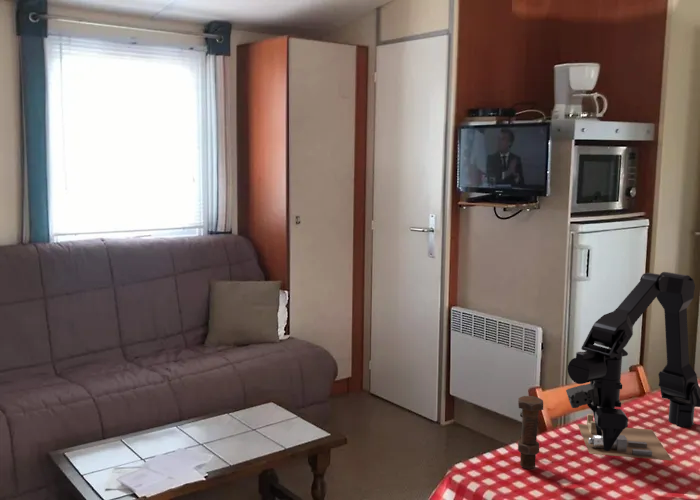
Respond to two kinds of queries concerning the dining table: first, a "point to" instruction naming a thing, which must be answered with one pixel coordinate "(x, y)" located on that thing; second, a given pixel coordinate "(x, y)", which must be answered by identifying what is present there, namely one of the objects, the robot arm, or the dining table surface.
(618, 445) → the grey piece
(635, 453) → the socket
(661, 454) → the board
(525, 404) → the bolt
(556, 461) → the dining table surface
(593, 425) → the rack
